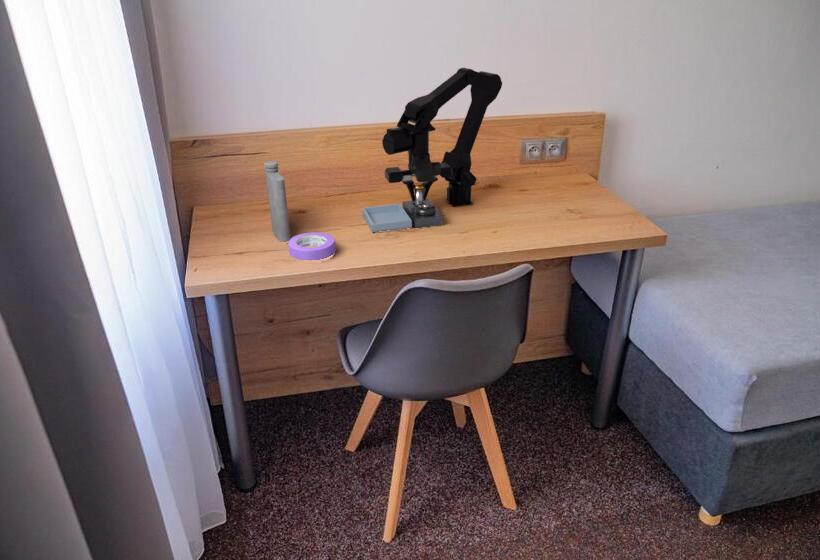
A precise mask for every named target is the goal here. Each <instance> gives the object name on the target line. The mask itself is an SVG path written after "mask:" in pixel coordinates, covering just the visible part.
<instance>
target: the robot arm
mask: <svg viewBox="0 0 820 560" xmlns="http://www.w3.org/2000/svg"><path fill="white" fill-rule="evenodd" d="M468 86H470V97H471V101H470V105H469V107H468V110H467V112H466V115H465V118H464V121H463V123H462V126H461V128H460V132H459V135H458V137H457V139H456V142H455V146H454V147H453V149H452V150H451V151H447V150H446V151H445V152H444V154H443V159H442V161H441V162H440V161H435V162H434V161H432V160H431V154H430V147H429V146H430V138H429V137H430V136H429V135H430V132H433V131H436V127H435V126H433V125H432V124H431V122H432V121H433V120H434V119H435V118H436V116H437V115H438V113H439V110H440V109H441V108H442V107H443V106H444V105H446V104H447V103H449V101H450V100H452V99H454V98H455V96H457V95H458V94H459V93H461V92H462V91H464V90H465V88H467V87H468ZM502 86H503V81H502V78H501V76H500V75H499V74H497V73H492V72H487V71H482V70H481V71H475V69H472V68H467V67H461V68H458V69H457V70H456V72H455V73H454V74H453V75H451V76H450V77H449V78H448V79H446V80H445V81H444V82H442V83H441V84H440V85H438V86H437V87H436V88H435V89H433V90H432V91H431V92H429V93H428V94H426V95H422V96H419V97H416V98H414V99H413V100H411V101H409V102H407V104H405V107H404V111H403V113H402V115H401V117H400V119H399V120H398V122H397V124H396V127H394V128H389V127H388V128H386V133H385V134H384V135H383V137H382V138H383V139H382V141H381V142H382V148H383V150H384V152H385V153H386V154H387V155H388V156H392V155H395V154H401V153H405V152H407V154H408V156H407V158H408V163H407V168H408V169H403V170H402V169H401V168H400V167H399V166H393V167H386V169H384V178H385V180H386V181H387V182H388V183H389V184H395V183H401V182H402V184H404V185H405V186H406V188H407V190H408V193H409V196H410V199H411V201H413V202H414V201H415V190H414V183H415V181H414V180H413V177H415V180H416V181H417V183H424V184H425V189H423V200H424V201H425V200H426V199H427V196H428V194H429V192H430V189H431V187H432V186H433V183H435V182H437V181H438V180H439V178H438V177H437V176H440V177H441V179H444V180H445V182H448V187H446V198H445V199H446V201H447V202H448V203H449V204H450V205H451V206H452V207H460V206H461V207H462V206H470V205H471V206H472V205H473V204H474V202H473V201H472V186H475V185H476V183H477V177H476V175H474V174H473V173H472V172H471V169H472V168H471V167H472V157H471V153H472V149H473V147H474V144H475V141H476V139H477V137H478V133H479V131H480V128H481V125H482V123H483V120H484V118H485V114H486V112H487V110H488V107H489V105H491V104H492V103H493V102H494V101H495V100H496V99H497V97H498V95H499V93H500V91H501V89H502Z"/></svg>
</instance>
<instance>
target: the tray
mask: <svg viewBox="0 0 820 560" xmlns="http://www.w3.org/2000/svg"><path fill="white" fill-rule="evenodd" d="M363 216H364V217H363ZM362 217H363V218H365V219H364V220H366V221H365V223H366V222H367V223H368V224H367V223H366V224H367V226H368V225H369V226H368V228H369V227H370V228H369V229H371V230H370V232H371V231H372V232H379V231H387V230H396V231H398V230H397V229H405V230H408V229H407V228H412V227H413V225H412V220H411V219H410V217H409V216H408V215H407V213H406V212H405V210H404V209H403V205H401V204H400V203H398V204H396V203H394V204H386V205H378V206H377V205H375V206H368V207H362ZM372 232H371V233H372ZM379 233H380V232H379Z"/></svg>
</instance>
